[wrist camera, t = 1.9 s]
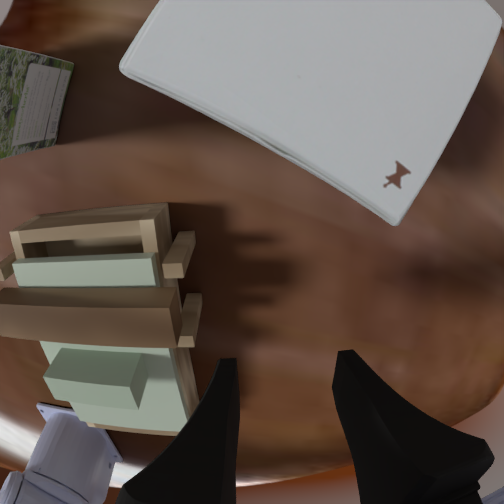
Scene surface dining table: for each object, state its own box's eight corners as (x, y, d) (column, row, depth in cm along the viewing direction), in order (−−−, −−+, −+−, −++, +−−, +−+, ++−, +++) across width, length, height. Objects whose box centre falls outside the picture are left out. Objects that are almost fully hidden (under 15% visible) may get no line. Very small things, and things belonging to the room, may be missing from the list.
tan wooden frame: (217, 406, 26) (214, 449, 22) (85, 397, 26) (70, 434, 22) (191, 200, 19) (177, 225, 15) (22, 217, 19) (-17, 241, 15)
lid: (191, 424, 22) (186, 463, 19) (82, 414, 22) (69, 447, 19) (154, 252, 17) (134, 286, 13) (18, 258, 17) (-16, 286, 13)
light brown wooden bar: (182, 325, 17) (177, 348, 15) (15, 319, 17) (1, 336, 15) (176, 286, 16) (169, 307, 14) (4, 287, 16) (-13, 302, 14)
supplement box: (364, 67, 16) (514, 26, 5) (302, 165, 19) (398, 242, 7) (258, 3, 15) (283, -135, 3) (192, 103, 17) (106, 75, 5)
